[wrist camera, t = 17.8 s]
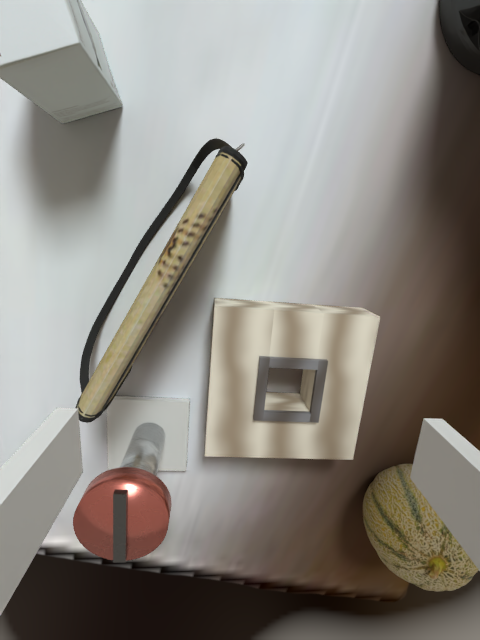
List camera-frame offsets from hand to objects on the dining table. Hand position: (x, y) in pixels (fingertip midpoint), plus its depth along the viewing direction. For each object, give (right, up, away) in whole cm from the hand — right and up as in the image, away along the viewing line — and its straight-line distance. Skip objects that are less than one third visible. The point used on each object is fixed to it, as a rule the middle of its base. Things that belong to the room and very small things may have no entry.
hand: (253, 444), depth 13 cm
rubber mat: (-13, -11, +35) cm, 39 cm away
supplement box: (-18, +31, +24) cm, 43 cm away
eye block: (+5, -3, +34) cm, 34 cm away
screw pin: (-13, -11, +34) cm, 38 cm away
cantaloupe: (+24, -21, +40) cm, 51 cm away
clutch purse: (-11, +11, +29) cm, 33 cm away
